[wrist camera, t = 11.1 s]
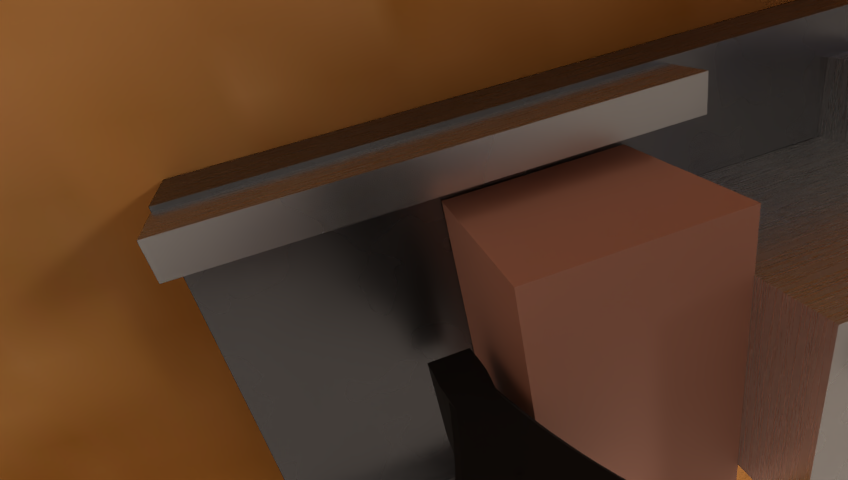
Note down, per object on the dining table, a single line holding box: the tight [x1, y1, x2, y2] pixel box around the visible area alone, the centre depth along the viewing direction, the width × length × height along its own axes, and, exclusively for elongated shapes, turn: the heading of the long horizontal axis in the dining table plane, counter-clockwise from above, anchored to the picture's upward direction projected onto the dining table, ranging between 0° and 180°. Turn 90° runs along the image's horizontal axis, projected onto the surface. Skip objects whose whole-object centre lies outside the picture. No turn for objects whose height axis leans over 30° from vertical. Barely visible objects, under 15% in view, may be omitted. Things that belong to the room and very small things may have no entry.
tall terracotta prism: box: [442, 144, 761, 480], centre depth 11 cm, size 4×7×4 cm, turn 13°
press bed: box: [137, 0, 848, 480], centre depth 12 cm, size 16×10×6 cm, turn 103°
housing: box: [699, 137, 848, 480], centre depth 10 cm, size 5×4×6 cm
